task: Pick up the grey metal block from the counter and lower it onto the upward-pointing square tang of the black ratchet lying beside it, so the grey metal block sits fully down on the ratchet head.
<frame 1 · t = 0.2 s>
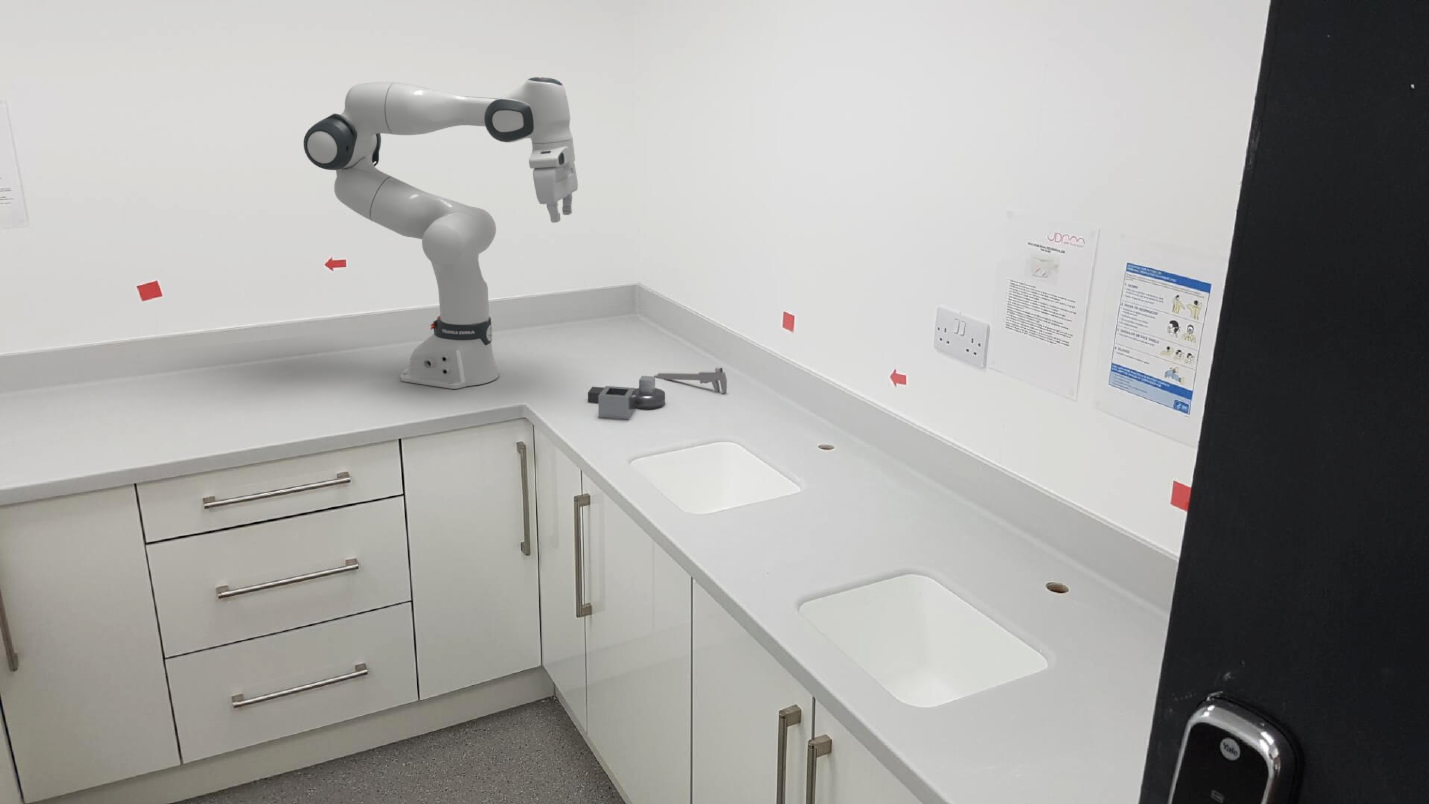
hand: (561, 218, 242), 39 cm above the worktop, tool pointing down, fingers open, 8 cm apart
grey metal block: (617, 413, 237), on the worktop
caliper: (689, 386, 257), on the worktop
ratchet: (647, 403, 244), on the worktop
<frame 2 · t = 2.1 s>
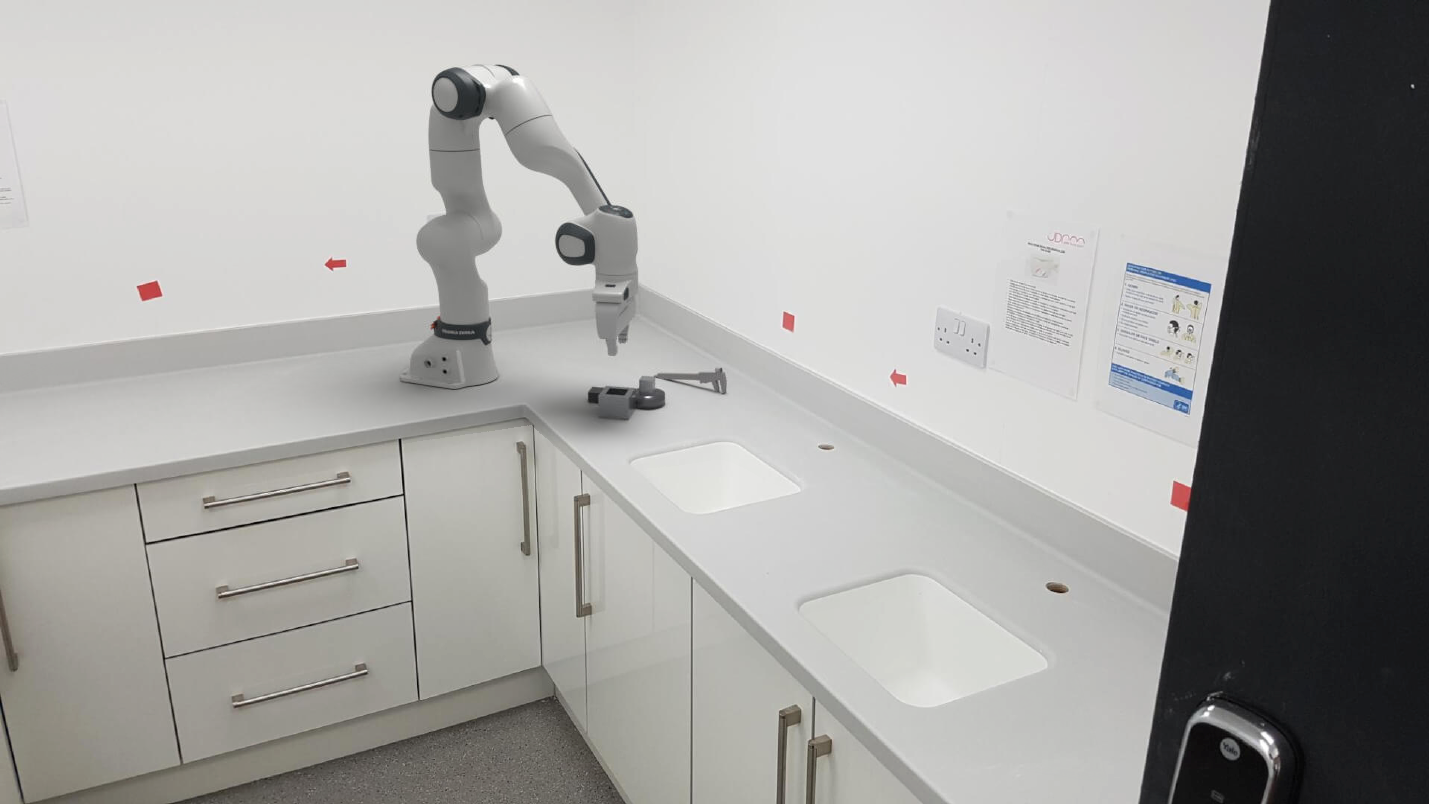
hand: (618, 348, 232), 15 cm above the worktop, tool pointing down, fingers open, 8 cm apart
nothing on the worktop moved.
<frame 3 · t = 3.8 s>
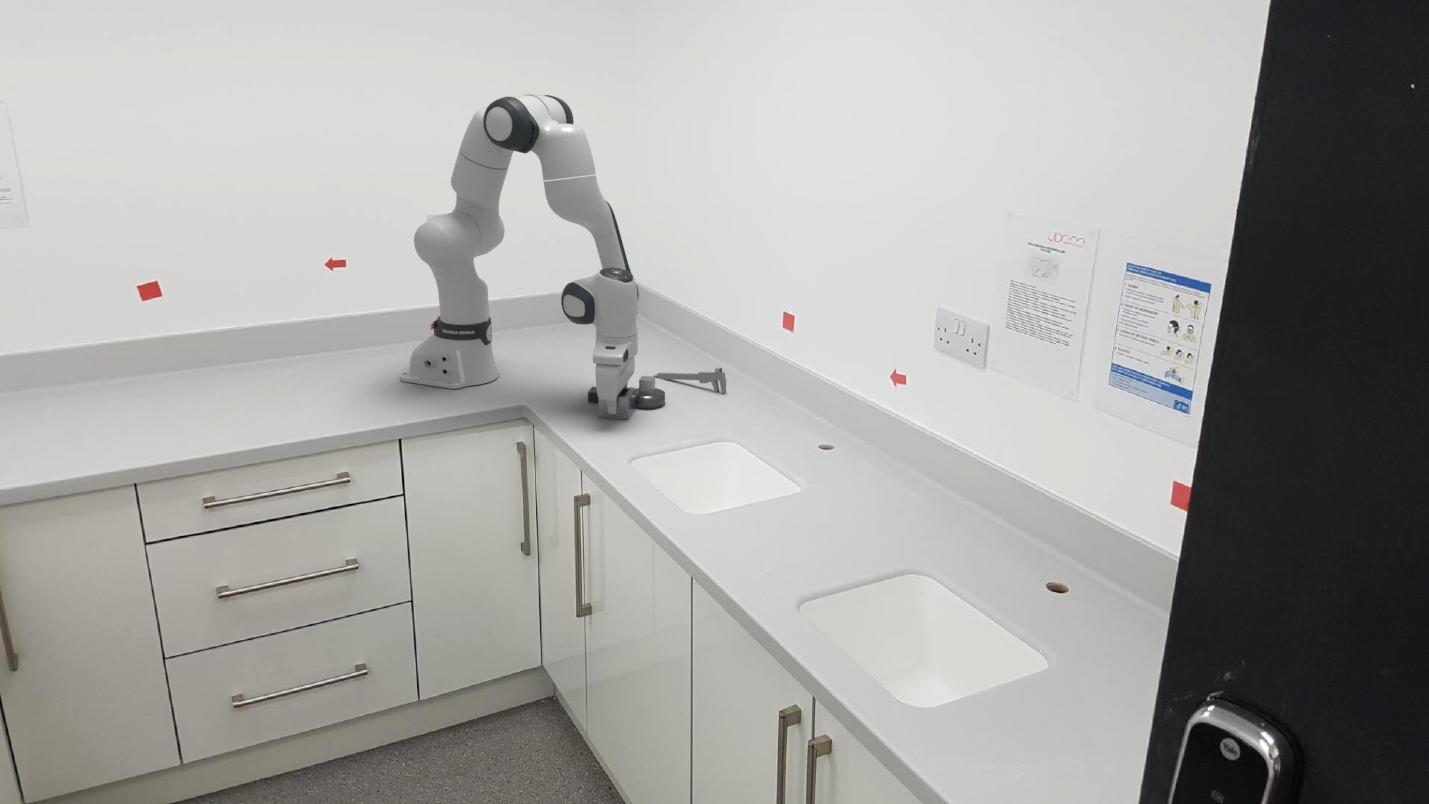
hand: (617, 406, 237), 2 cm above the worktop, tool pointing down, fingers closed on grey metal block, 7 cm apart
grey metal block: (617, 413, 237), on the worktop, touching gripper
everything else where it was.
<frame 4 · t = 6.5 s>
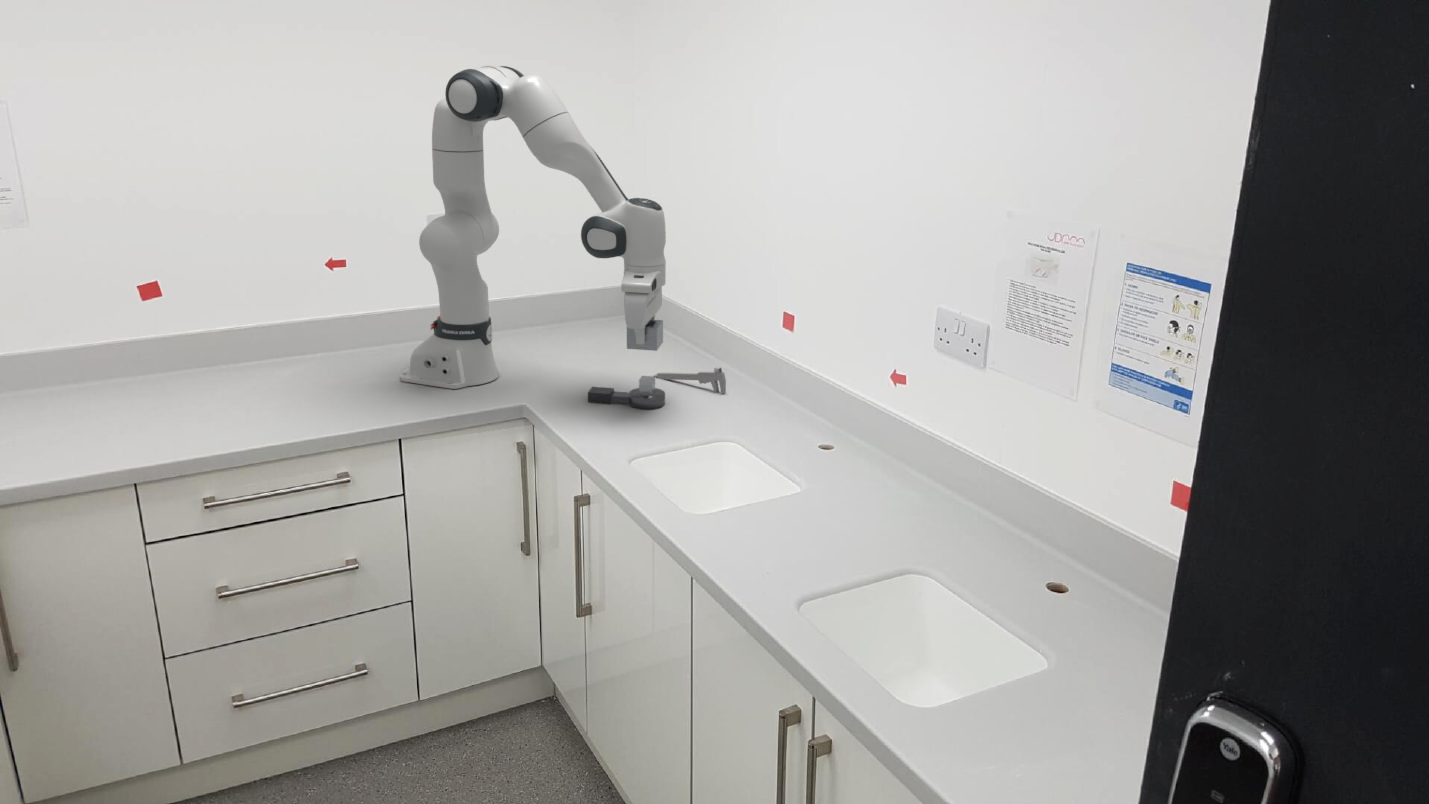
hand: (644, 338, 238), 15 cm above the worktop, tool pointing down, fingers closed on grey metal block, 7 cm apart
grey metal block: (645, 345, 238), point 14 cm above the worktop, touching gripper
everything else where it was.
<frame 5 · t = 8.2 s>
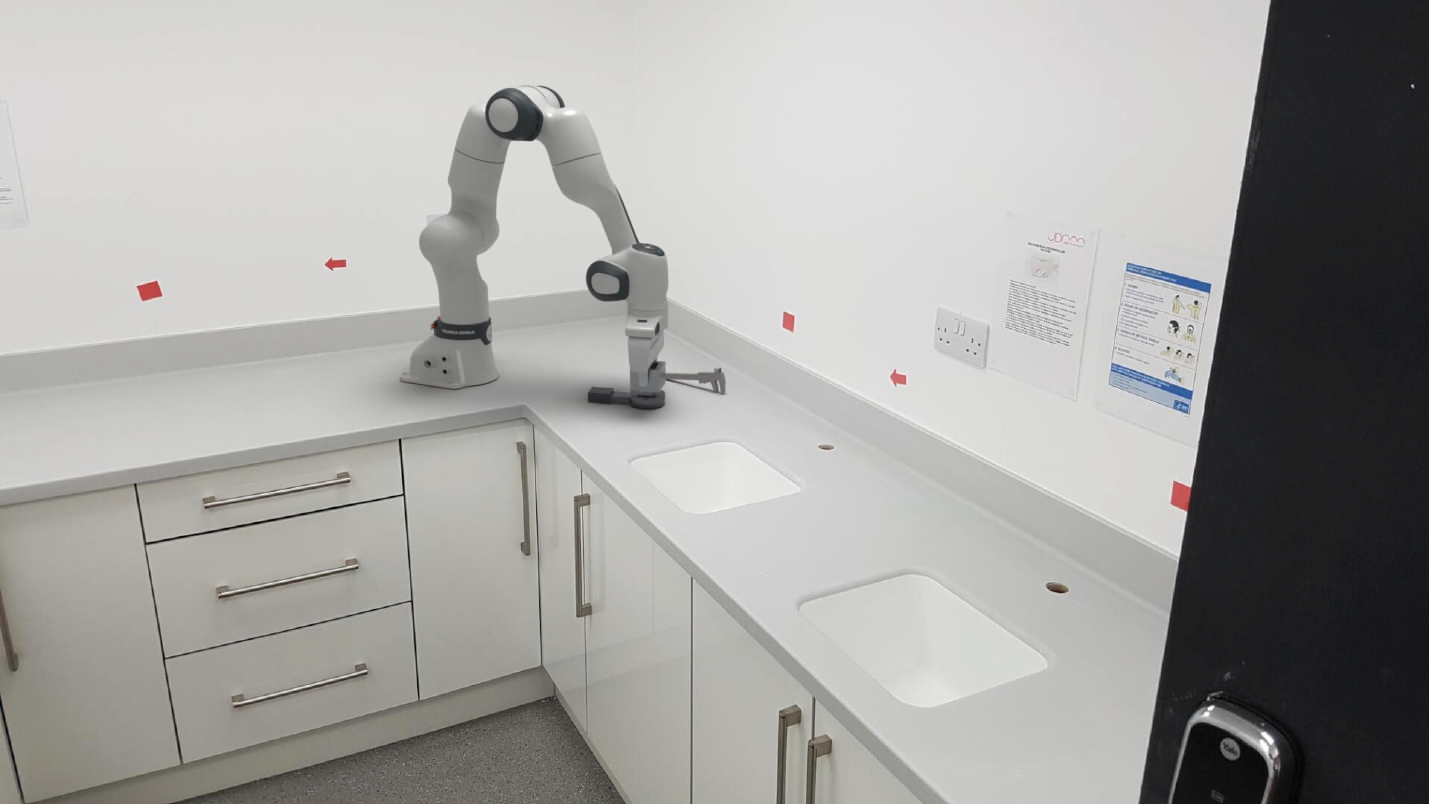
hand: (647, 379, 242), 6 cm above the worktop, tool pointing down, fingers closed on grey metal block, 7 cm apart
grey metal block: (647, 386, 243), point 4 cm above the worktop, touching gripper
everything else where it was.
when the fingers open (5 cm above the worktop, at t = 9.2 s): grey metal block moves 1 cm, resting on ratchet.
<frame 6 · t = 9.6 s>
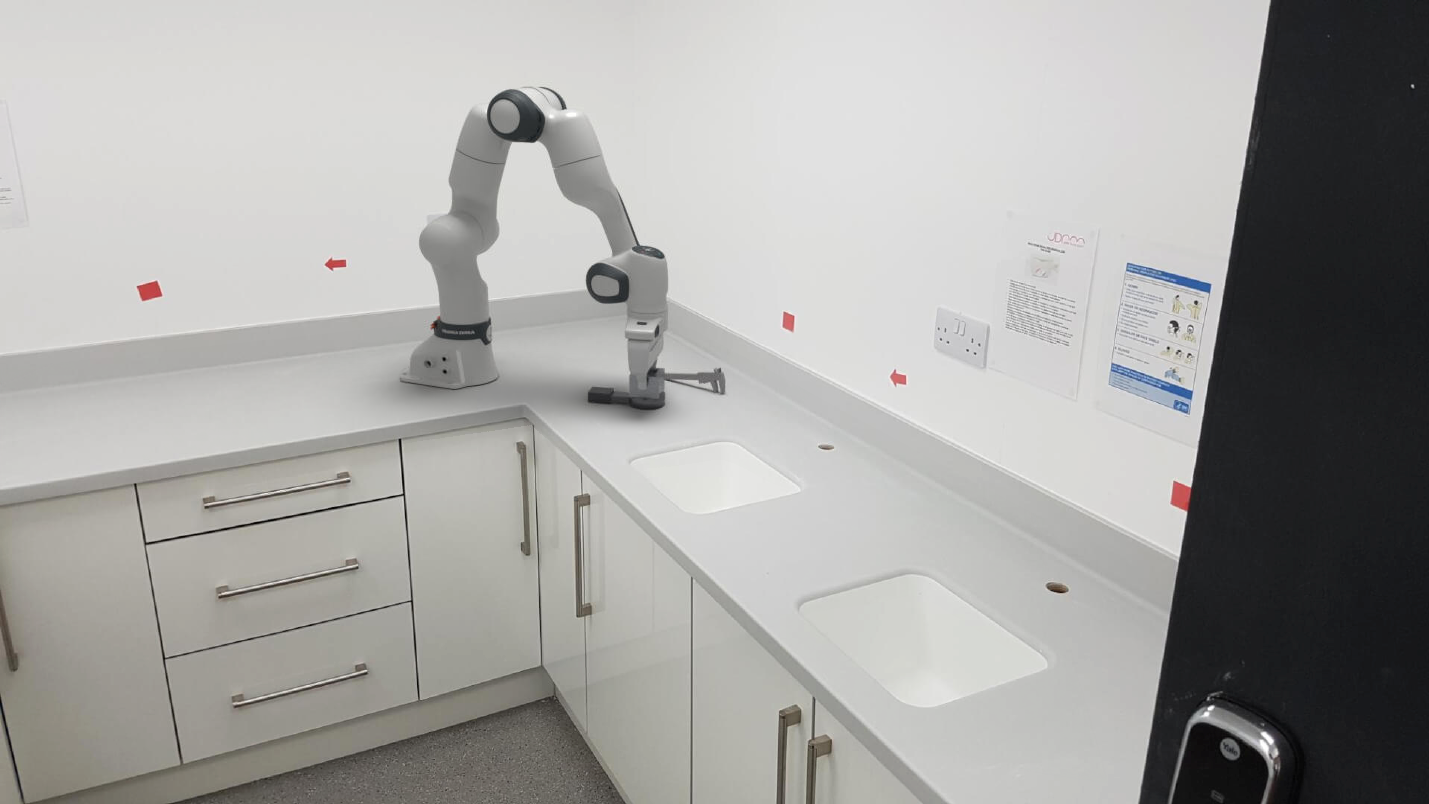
hand: (647, 381, 242), 5 cm above the worktop, tool pointing down, fingers open, 8 cm apart
grey metal block: (647, 393, 243), point 2 cm above the worktop, touching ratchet
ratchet: (647, 403, 244), on the worktop, touching grey metal block
everything else where it was.
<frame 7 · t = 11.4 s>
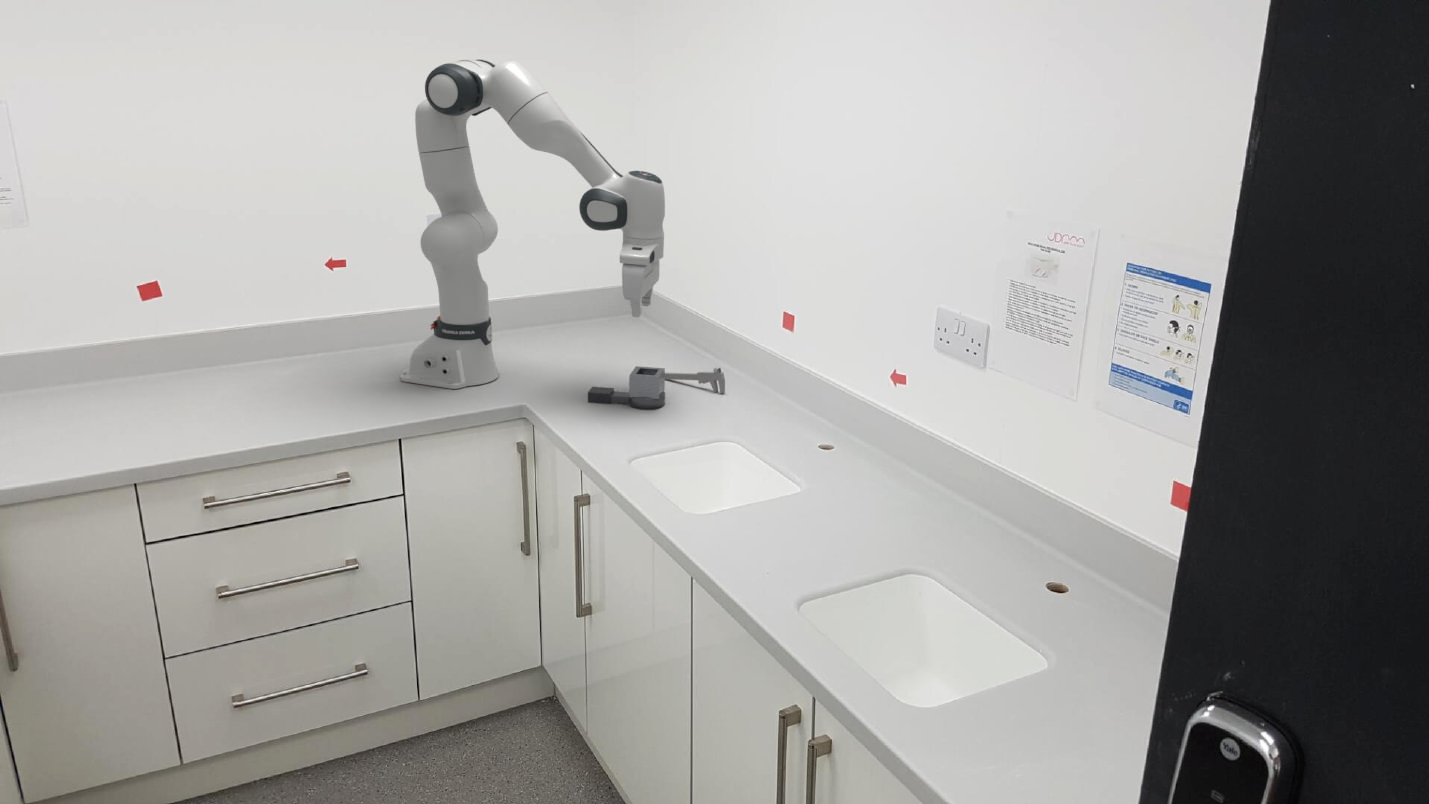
hand: (641, 310, 240), 20 cm above the worktop, tool pointing down, fingers open, 8 cm apart
nothing on the worktop moved.
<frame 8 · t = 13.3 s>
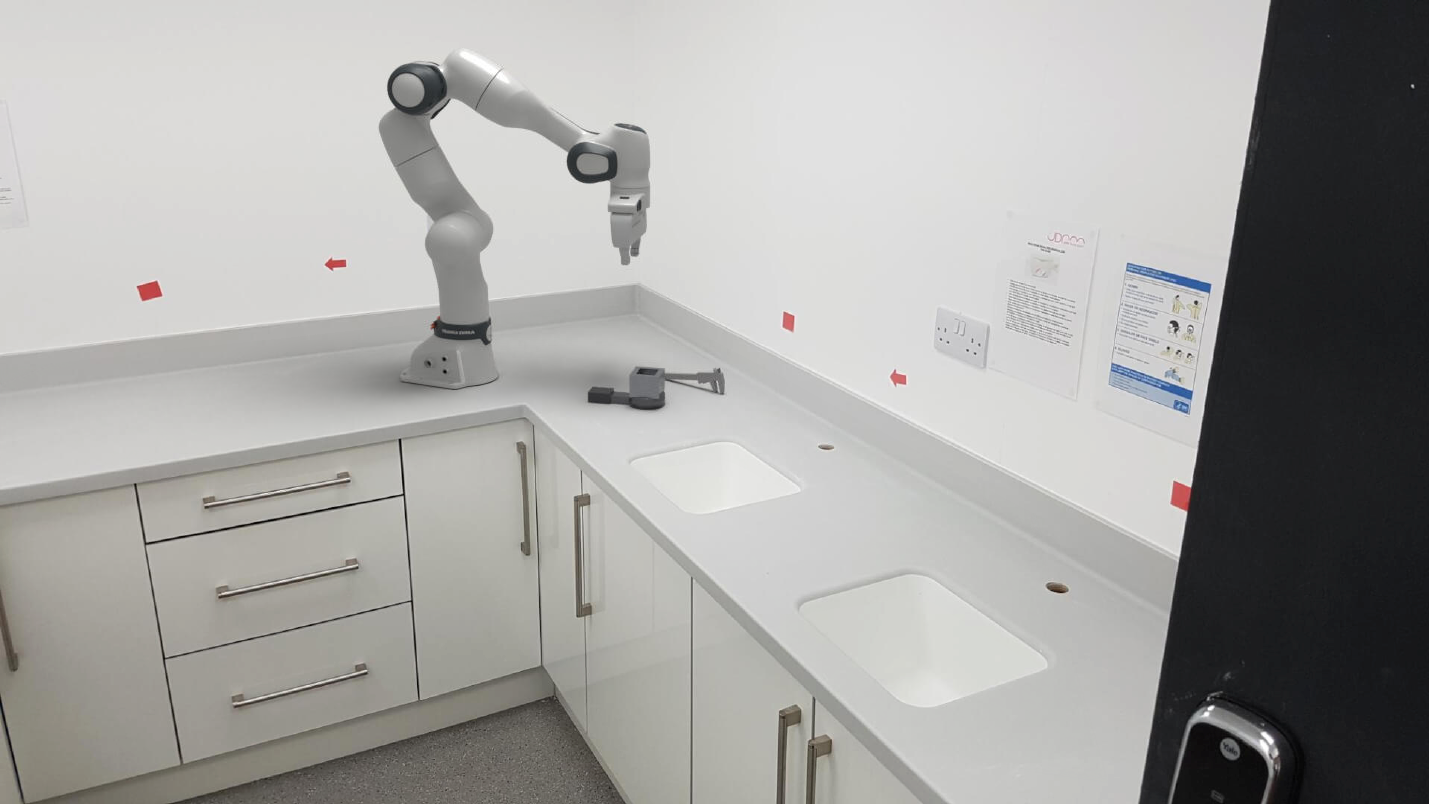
hand: (630, 260, 248), 29 cm above the worktop, tool pointing down, fingers open, 8 cm apart
nothing on the worktop moved.
at the end: grey metal block 0.0 cm off-centre on the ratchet, point 2.5 cm above the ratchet's base; grey metal block tilted 0°; the gripper is holding nothing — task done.
